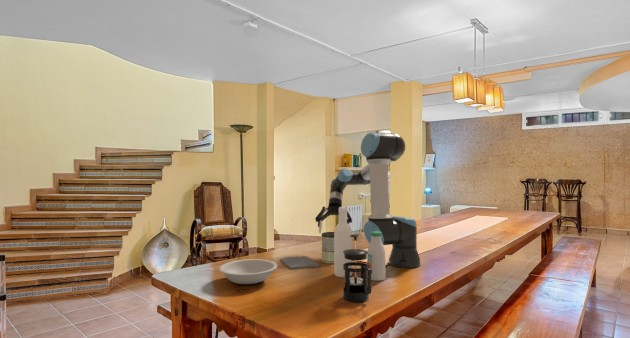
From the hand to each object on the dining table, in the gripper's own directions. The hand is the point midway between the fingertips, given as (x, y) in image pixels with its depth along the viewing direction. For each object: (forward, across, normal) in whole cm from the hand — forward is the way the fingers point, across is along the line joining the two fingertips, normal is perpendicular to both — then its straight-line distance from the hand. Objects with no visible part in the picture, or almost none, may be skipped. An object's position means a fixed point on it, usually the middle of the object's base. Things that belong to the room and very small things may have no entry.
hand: (332, 232), depth 189 cm
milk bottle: (+34, -23, +14) cm, 43 cm away
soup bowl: (+43, +29, +24) cm, 57 cm away
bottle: (+31, -9, +12) cm, 35 cm away
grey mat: (+20, +15, +1) cm, 25 cm away
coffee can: (+15, -1, -4) cm, 16 cm away
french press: (+51, -16, +32) cm, 63 cm away
